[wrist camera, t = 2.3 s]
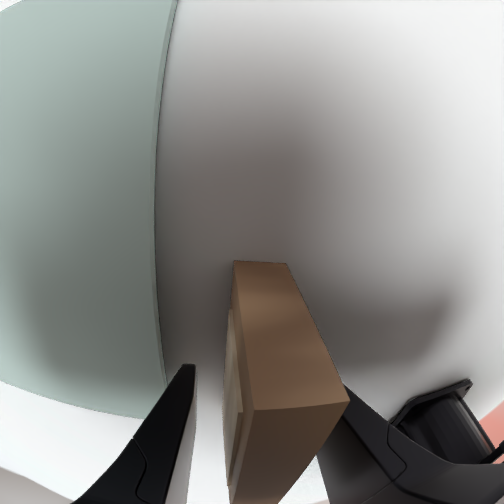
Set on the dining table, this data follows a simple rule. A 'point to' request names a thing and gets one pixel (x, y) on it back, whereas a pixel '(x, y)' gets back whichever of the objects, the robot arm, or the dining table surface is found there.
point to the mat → (81, 200)
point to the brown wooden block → (274, 385)
